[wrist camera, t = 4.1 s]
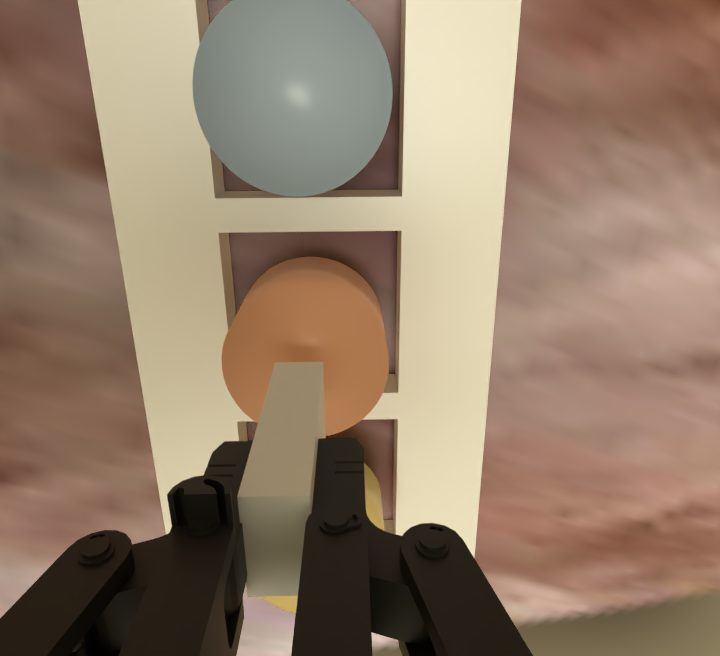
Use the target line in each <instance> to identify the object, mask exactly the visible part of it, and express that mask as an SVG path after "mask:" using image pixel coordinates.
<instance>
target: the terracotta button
mask: <svg viewBox="0 0 720 656" xmlns="http://www.w3.org/2000/svg"><path fill="white" fill-rule="evenodd" d="M221 359H222V372H223V377H224V380H225V383H226V386H227V389H228V391H229V393H230V395H231V397H232V398H233V400H234V401H235V403H236V404H237V405H238V406H239V408H240V409H241V410H242V411H243V412H244V413H245V414H246V415H247V416H248V417H250V418H251V419H252V420H253V421H255V422H256V423H258V422H259V418H260V415H261V411H262V408H263V404H264V401H265V397H266V393H267V390H268V386H269V383H270V379H271V376H272V372H273V369H274V365H275V362H323V371H324V400H325V429H326V436H330V435H333V434H336V433H339V432H341V431H344V430H346V429H348V428H350V427H352V426H353V425H355V424H357V423H358V422H359V421H361V420H362V419H363V418H364V417H366V416H367V414H368V413H369V412H370V411H371V410H372V409H373V408H374V407H375V405H376V404H377V403H378V401H379V399H380V397H381V396H382V394H383V391H384V389H385V386H386V383H387V379H388V374H389V354H388V348H387V342H386V335H385V329H384V323H383V316H382V311H381V307H380V304H379V301H378V299H377V297H376V295H375V293H374V291H373V290H372V288H371V287H370V285H369V284H368V283H367V282H366V281H365V280H364V278H363V277H362V276H360V275H359V274H358V273H357V272H356V271H354V270H353V269H351V268H349V267H348V266H346V265H344V264H342V263H340V262H337V261H334V260H331V259H327V258H321V257H299V258H294V259H290V260H287V261H284V262H281V263H279V264H277V265H275V266H273V267H272V268H270V269H269V270H267V271H266V272H265V273H263V274H262V275H261V276H260V277H259V278H258V279H257V280H256V282H255V283H254V284H253V285H252V287H251V288H250V290H249V292H248V293H247V295H246V297H245V299H244V301H243V303H242V305H241V307H240V309H239V311H238V313H237V315H236V316H235V318H234V320H233V322H232V324H231V326H230V328H229V330H228V332H227V335H226V337H225V340H224V344H223V348H222V357H221Z"/></svg>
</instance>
